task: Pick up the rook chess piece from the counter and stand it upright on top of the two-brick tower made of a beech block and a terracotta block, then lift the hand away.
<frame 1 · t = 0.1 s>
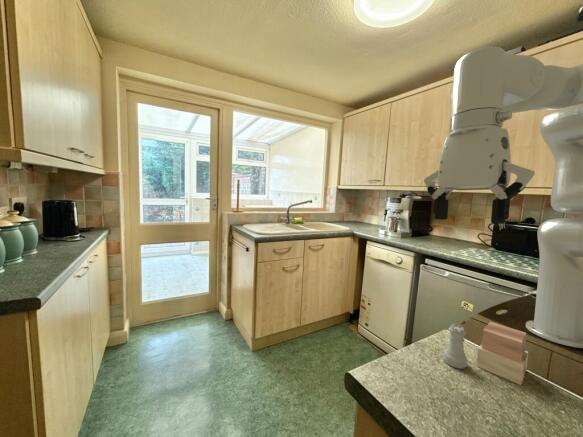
hand: (466, 221, 45), 31 cm above the countertop, tool pointing down, fingers open, 9 cm apart
rook chess piece: (454, 363, 53), on the countertop
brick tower: (501, 368, 52), on the countertop
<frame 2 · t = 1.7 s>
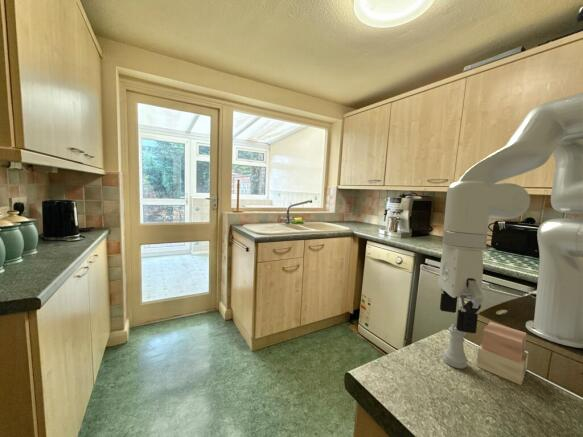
hand: (455, 320, 53), 9 cm above the countertop, tool pointing down, fingers open, 9 cm apart
nothing on the countertop moved.
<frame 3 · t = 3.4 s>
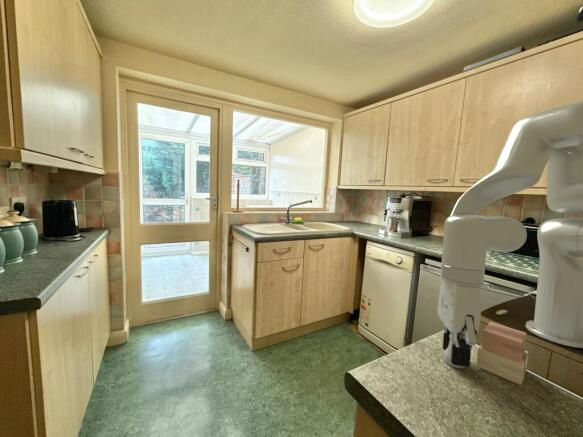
hand: (455, 356, 53), 1 cm above the countertop, tool pointing down, fingers closed on rook chess piece, 4 cm apart
rook chess piece: (454, 363, 53), on the countertop, touching gripper
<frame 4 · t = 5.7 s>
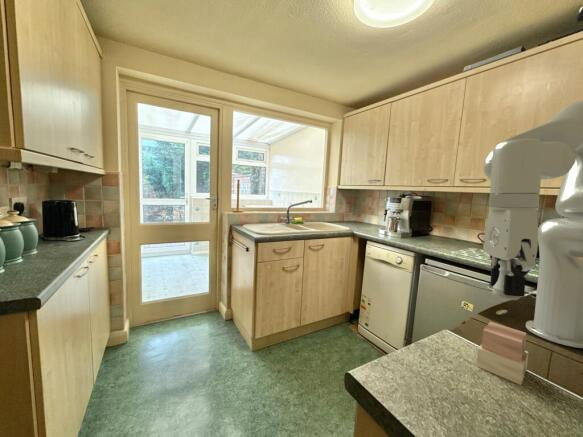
hand: (506, 290, 51), 17 cm above the countertop, tool pointing down, fingers closed on rook chess piece, 4 cm apart
rook chess piece: (505, 297, 51), point 15 cm above the countertop, touching gripper
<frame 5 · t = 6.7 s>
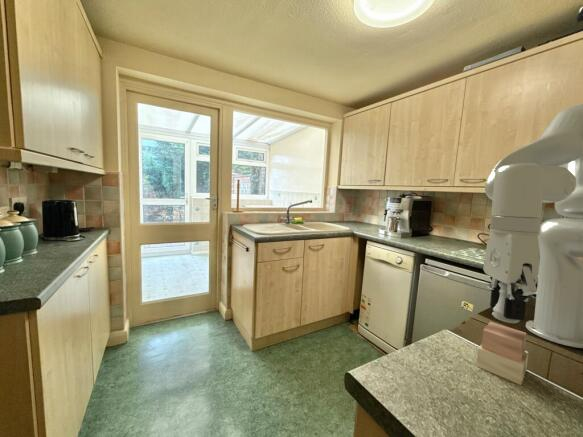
hand: (506, 312, 51), 12 cm above the countertop, tool pointing down, fingers closed on rook chess piece, 4 cm apart
rook chess piece: (505, 319, 51), point 11 cm above the countertop, touching gripper
when the fingers open (10 cm above the countertop, at t = 7.8 s): rook chess piece stays where it is, resting on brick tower.
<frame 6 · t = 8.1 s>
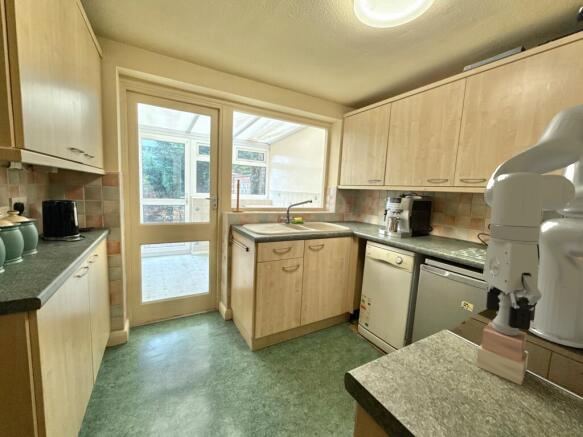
hand: (505, 317, 51), 11 cm above the countertop, tool pointing down, fingers open, 7 cm apart
rook chess piece: (505, 332, 52), point 8 cm above the countertop, touching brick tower
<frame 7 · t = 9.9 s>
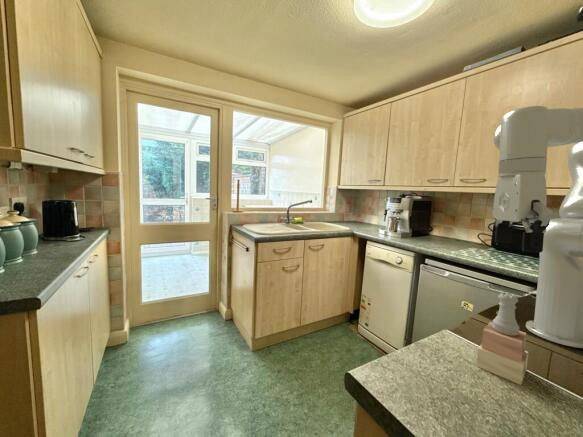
hand: (516, 247, 55), 25 cm above the countertop, tool pointing down, fingers open, 9 cm apart
nothing on the countertop moved.
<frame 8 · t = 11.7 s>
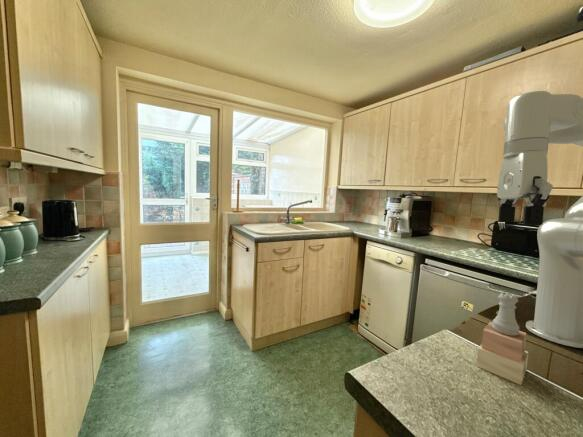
hand: (518, 223, 58), 30 cm above the countertop, tool pointing down, fingers open, 9 cm apart
nothing on the countertop moved.
at the end: rook chess piece 0.1 cm off-centre on the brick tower, point 7.8 cm above the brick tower's base; rook chess piece tilted 0°; the gripper is holding nothing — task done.
